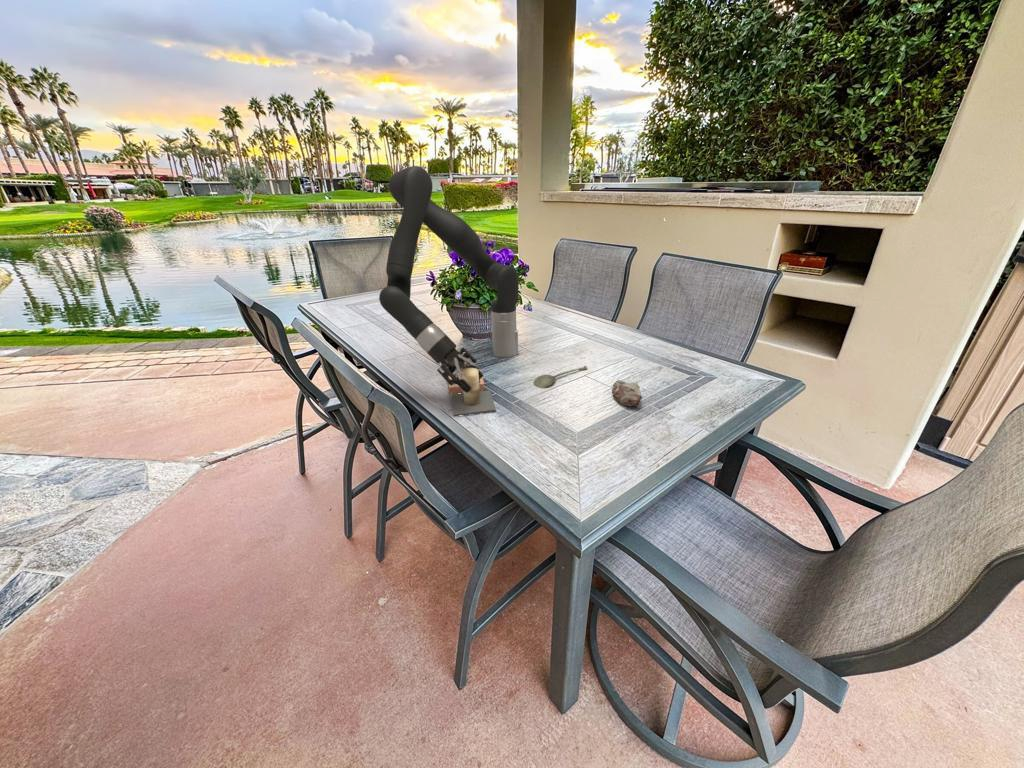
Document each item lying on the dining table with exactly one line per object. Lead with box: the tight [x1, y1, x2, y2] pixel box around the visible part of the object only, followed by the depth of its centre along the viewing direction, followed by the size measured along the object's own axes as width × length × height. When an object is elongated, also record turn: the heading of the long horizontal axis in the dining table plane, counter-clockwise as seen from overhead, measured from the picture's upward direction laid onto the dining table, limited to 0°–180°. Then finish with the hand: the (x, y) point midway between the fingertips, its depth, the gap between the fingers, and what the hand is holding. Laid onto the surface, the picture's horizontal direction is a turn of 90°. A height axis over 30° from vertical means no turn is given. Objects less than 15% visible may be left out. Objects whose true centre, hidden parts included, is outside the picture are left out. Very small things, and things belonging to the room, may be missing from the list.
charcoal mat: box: [451, 390, 497, 417], centre depth 117 cm, size 12×12×1 cm
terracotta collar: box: [448, 368, 486, 395], centre depth 128 cm, size 11×11×2 cm
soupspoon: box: [532, 365, 588, 389], centre depth 132 cm, size 22×3×7 cm
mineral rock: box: [611, 379, 643, 409], centre depth 118 cm, size 15×8×4 cm, turn 170°
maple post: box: [461, 368, 480, 406], centre depth 115 cm, size 5×5×10 cm
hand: (475, 384), depth 114 cm, fingers open, 8 cm apart
